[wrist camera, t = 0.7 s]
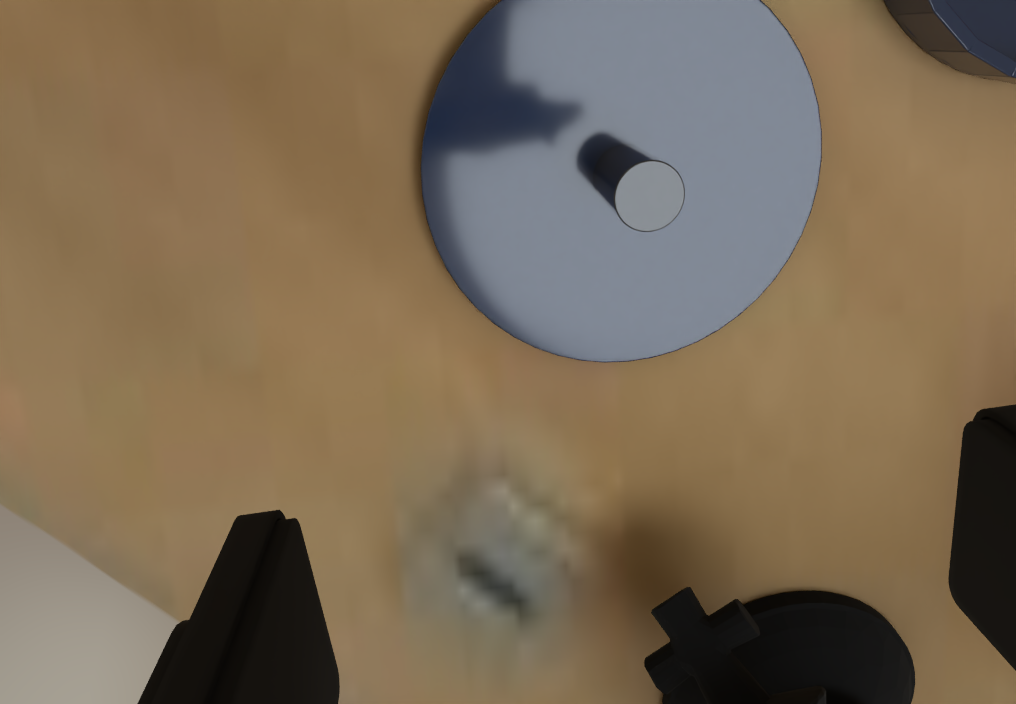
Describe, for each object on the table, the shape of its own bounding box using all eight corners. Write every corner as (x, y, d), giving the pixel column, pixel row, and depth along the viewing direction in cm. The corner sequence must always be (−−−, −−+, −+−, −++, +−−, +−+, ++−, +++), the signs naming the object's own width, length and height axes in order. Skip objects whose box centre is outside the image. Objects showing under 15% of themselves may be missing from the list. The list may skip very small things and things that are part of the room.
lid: (690, -144, 32) (743, -184, 26) (873, 217, 38) (948, 249, 32) (339, 121, 35) (317, 137, 29) (561, 418, 41) (579, 480, 35)
